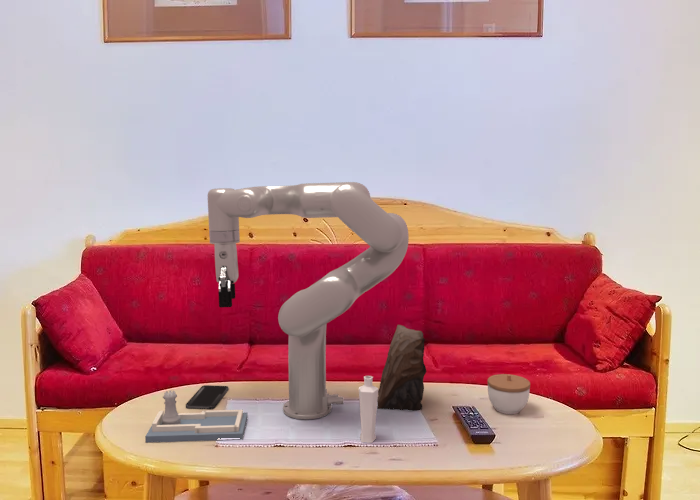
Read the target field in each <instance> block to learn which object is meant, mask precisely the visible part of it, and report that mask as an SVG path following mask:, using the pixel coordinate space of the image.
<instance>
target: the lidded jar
mask: <svg viewBox="0 0 700 500" xmlns="http://www.w3.org/2000/svg"><path fill="white" fill-rule="evenodd" d="M530 389H531V381H530V380H528V378H525V377H523V376H520V375H515V374H509V373H508V374H507V373H500V374H493V375H490V376H489V377H488V378H487V394H488V399H489V401H490V404H491V405H492V406H493V408H495V410H496V411H497V412H499V413H501V414H505V415H516V414H517V415H518V414H519V413H520V411H521V410H523V409H524V408H525V406H526V405H527V403H528V401H529V397H530Z"/></svg>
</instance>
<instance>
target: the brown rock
mask: <svg viewBox="0 0 700 500" xmlns="http://www.w3.org/2000/svg"><path fill="white" fill-rule="evenodd" d="M391 339H392V340H391V342H390V345H389V348H388V352H387V356H386V360H385V364H384V368H383V369H382V373H381V377H380V378H381V379H380V383H379V388H378V399H377V410H389V411H390V410H391V411H393V410H394V411H395V410H396V411H410V412H418V411H422V410H423V403H422V401H423V399H424V393H425V386H424V385H425V384H424V378H425V375H426V373H427V368H426V365H425V363H424V362H425V361H424V356H425V340H426V339H425V337H424V333H423V331H422V330H415V329H412V328H411V329H410V328H407V327H406V326H405V325H402V324H397V326H396V329H395V332H394V334H393V336H392V338H391Z"/></svg>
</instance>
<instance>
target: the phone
mask: <svg viewBox="0 0 700 500" xmlns="http://www.w3.org/2000/svg"><path fill="white" fill-rule="evenodd" d="M228 392H229V386H228V385H206V384H205V385H202V386H201V387H199V389H198V390H196V392H195V393H194V394H193V396H192V397H191V398H190V399H189V400H188V401H187V402H186V403H185V409H186V410H205V411H209V410H215V408H216V407H218V405H219V403H220V402H221V401H222V399H223V398H224V397H225V395H226V394H227V393H228Z"/></svg>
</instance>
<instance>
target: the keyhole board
mask: <svg viewBox="0 0 700 500" xmlns="http://www.w3.org/2000/svg"><path fill="white" fill-rule="evenodd" d="M164 413H165V410H159V411H158V413H157V414H156V415H155V418H154V420H153V421H152V423H151V426H150V427H149V430H148V431H147V433H146V434H145V438H144V439H145V443H171V442H172V443H175V442H178V443H179V442H206V441H207V442H209V441H210V442H211V441H214V442H215V441H218V440H217V439H218V438H220V439H221V438H240V439H242V438H243V439H244V436H243V435H245V432H244V430H245V431H246V427H247V423H248V419H247V418H248V416H249V415H248V412H247V411H246V412H244V409H219V410H217V409H216V410H215V409H211V410H202V411H201V412H183V413H181V412H179V413H178V412H177V413H178V415H179V416H180V421H181V423H180V424H178V425H162V417H163V415H164ZM246 422H247V423H246ZM245 426H246V427H245Z"/></svg>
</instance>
